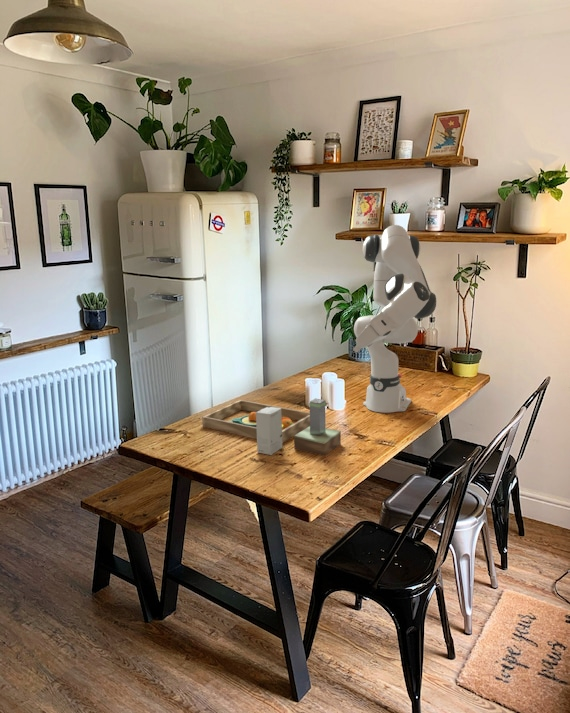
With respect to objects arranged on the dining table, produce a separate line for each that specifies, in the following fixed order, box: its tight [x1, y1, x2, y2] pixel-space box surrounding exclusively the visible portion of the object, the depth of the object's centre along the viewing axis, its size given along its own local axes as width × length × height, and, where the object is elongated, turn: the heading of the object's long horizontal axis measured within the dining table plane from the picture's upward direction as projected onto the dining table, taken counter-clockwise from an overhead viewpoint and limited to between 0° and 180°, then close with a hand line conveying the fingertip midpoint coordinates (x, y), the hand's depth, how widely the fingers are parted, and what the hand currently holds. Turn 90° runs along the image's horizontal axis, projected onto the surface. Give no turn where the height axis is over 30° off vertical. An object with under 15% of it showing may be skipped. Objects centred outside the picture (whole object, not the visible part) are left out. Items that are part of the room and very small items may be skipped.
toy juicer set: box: [227, 412, 294, 430], centre depth 235 cm, size 29×18×8 cm, turn 59°
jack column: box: [308, 398, 327, 436], centre depth 214 cm, size 4×4×12 cm
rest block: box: [293, 426, 342, 457], centre depth 216 cm, size 12×12×5 cm
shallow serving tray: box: [201, 399, 310, 443], centre depth 239 cm, size 25×36×4 cm
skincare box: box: [256, 407, 283, 456], centre depth 212 cm, size 8×6×15 cm
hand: (361, 347), depth 209 cm, fingers open, 8 cm apart
